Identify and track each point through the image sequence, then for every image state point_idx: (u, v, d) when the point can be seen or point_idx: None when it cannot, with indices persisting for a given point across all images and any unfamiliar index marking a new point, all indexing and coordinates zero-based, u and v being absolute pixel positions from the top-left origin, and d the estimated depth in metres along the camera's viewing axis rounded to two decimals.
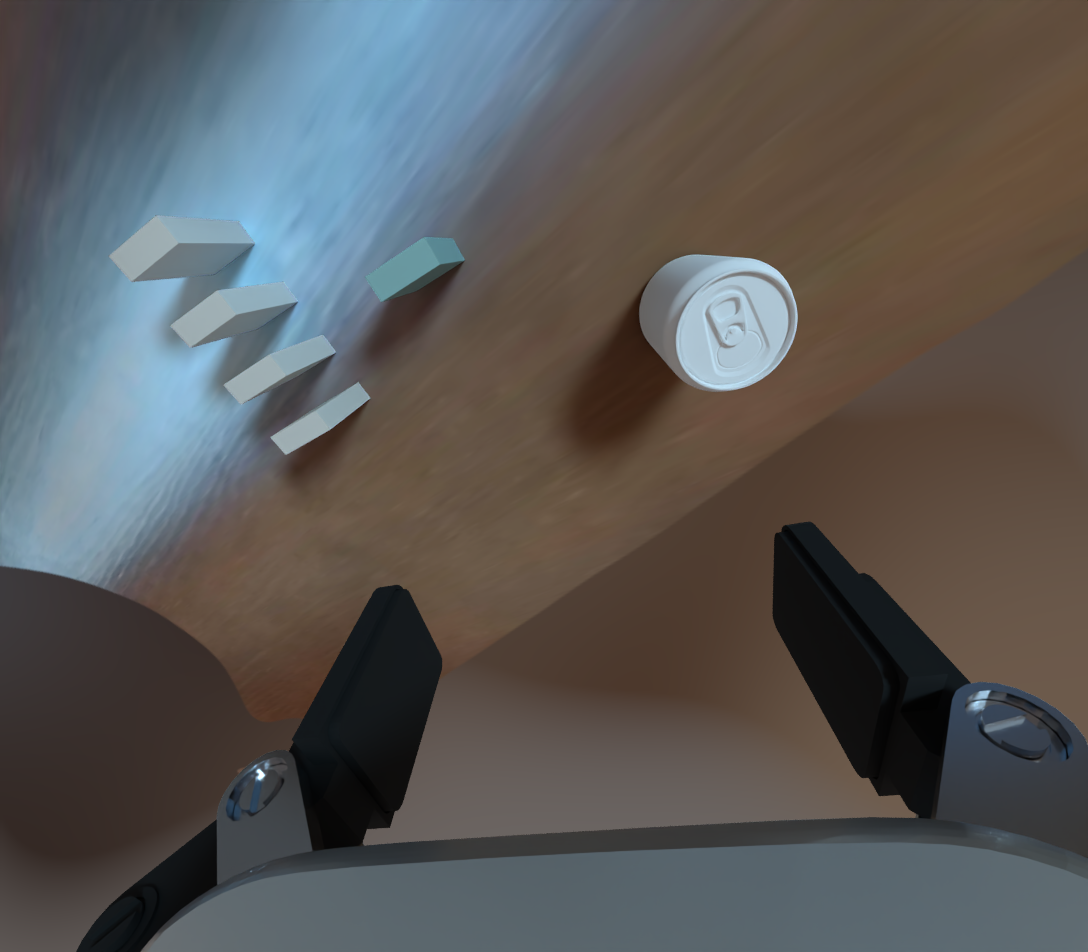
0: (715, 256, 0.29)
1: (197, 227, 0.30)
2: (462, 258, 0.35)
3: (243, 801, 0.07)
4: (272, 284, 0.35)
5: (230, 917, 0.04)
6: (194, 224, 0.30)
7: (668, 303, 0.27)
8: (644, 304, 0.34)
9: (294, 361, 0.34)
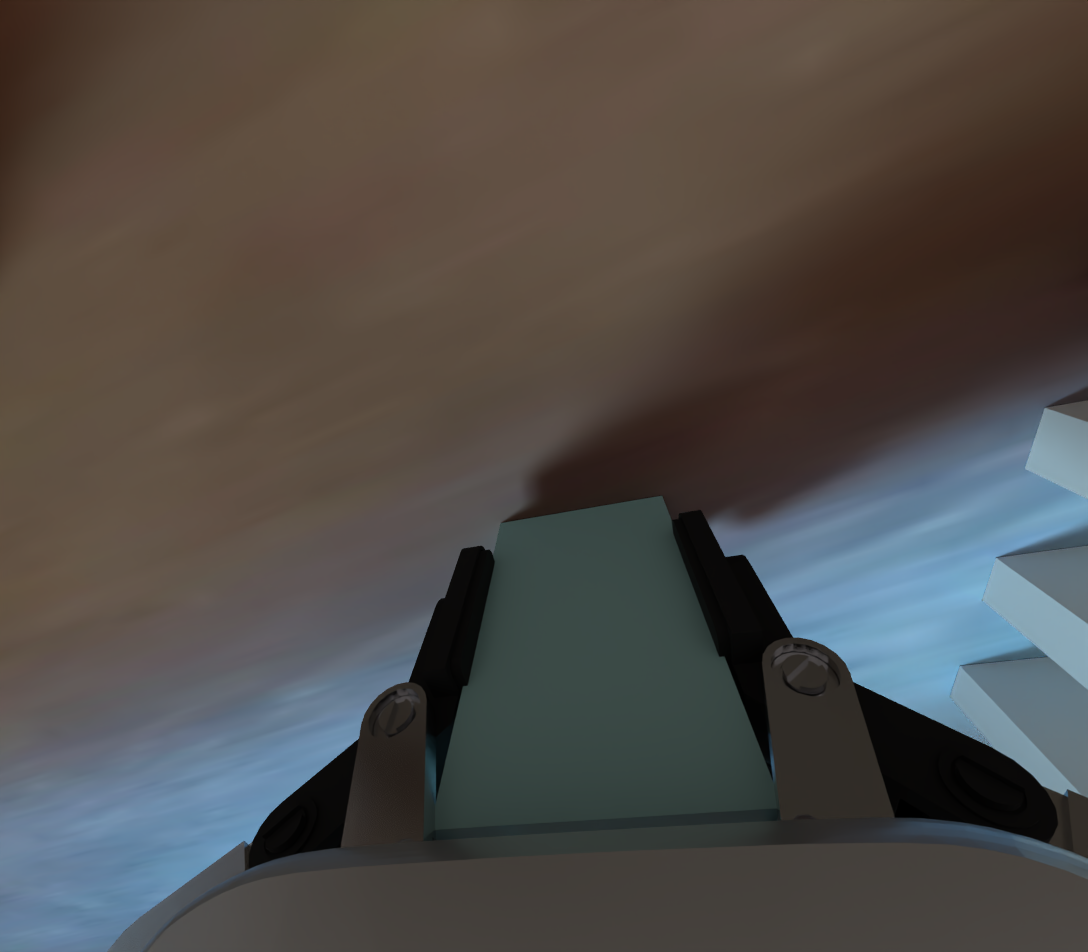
0: None
1: None
2: None
3: (382, 719, 0.08)
4: (1033, 639, 0.12)
5: (230, 917, 0.04)
6: None
7: None
8: None
9: None
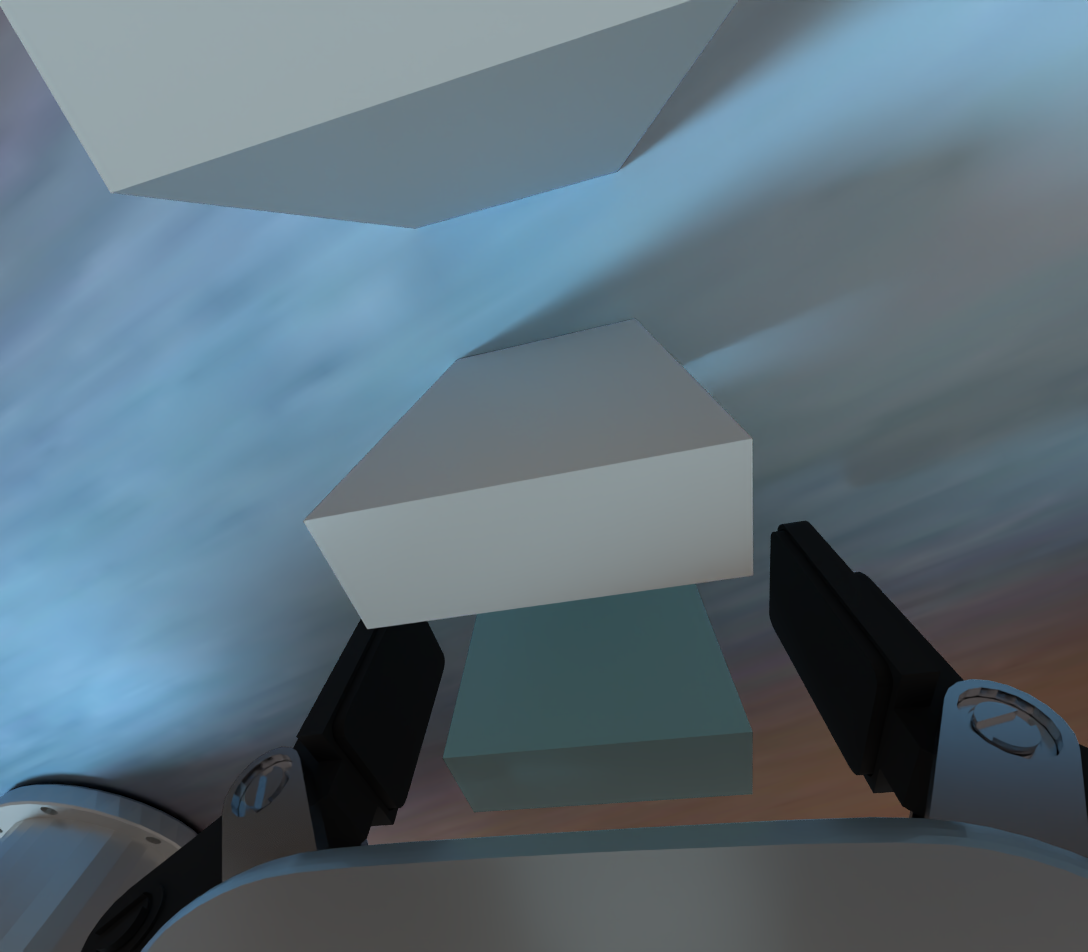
0: None
1: None
2: None
3: (248, 797, 0.07)
4: None
5: (229, 917, 0.04)
6: None
7: None
8: None
9: None
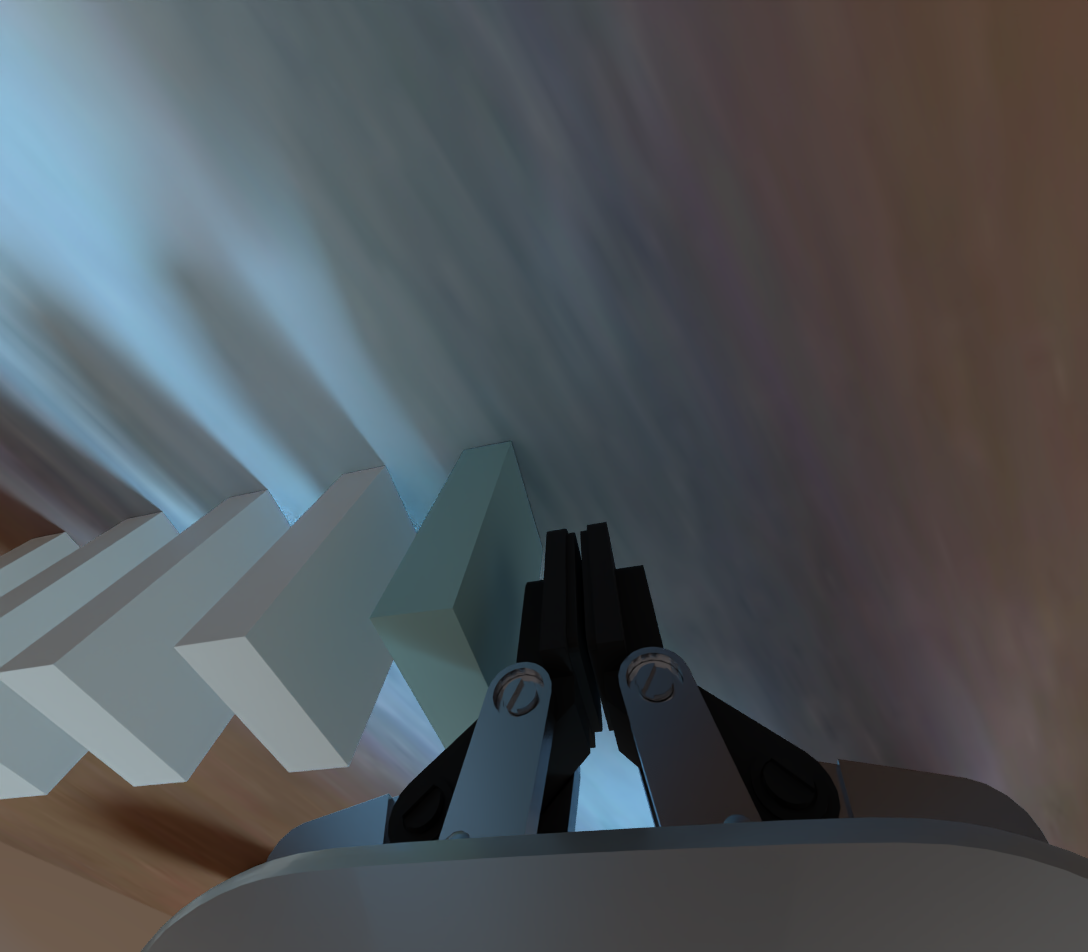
0: None
1: None
2: None
3: (506, 692, 0.08)
4: None
5: (230, 918, 0.04)
6: None
7: None
8: None
9: None
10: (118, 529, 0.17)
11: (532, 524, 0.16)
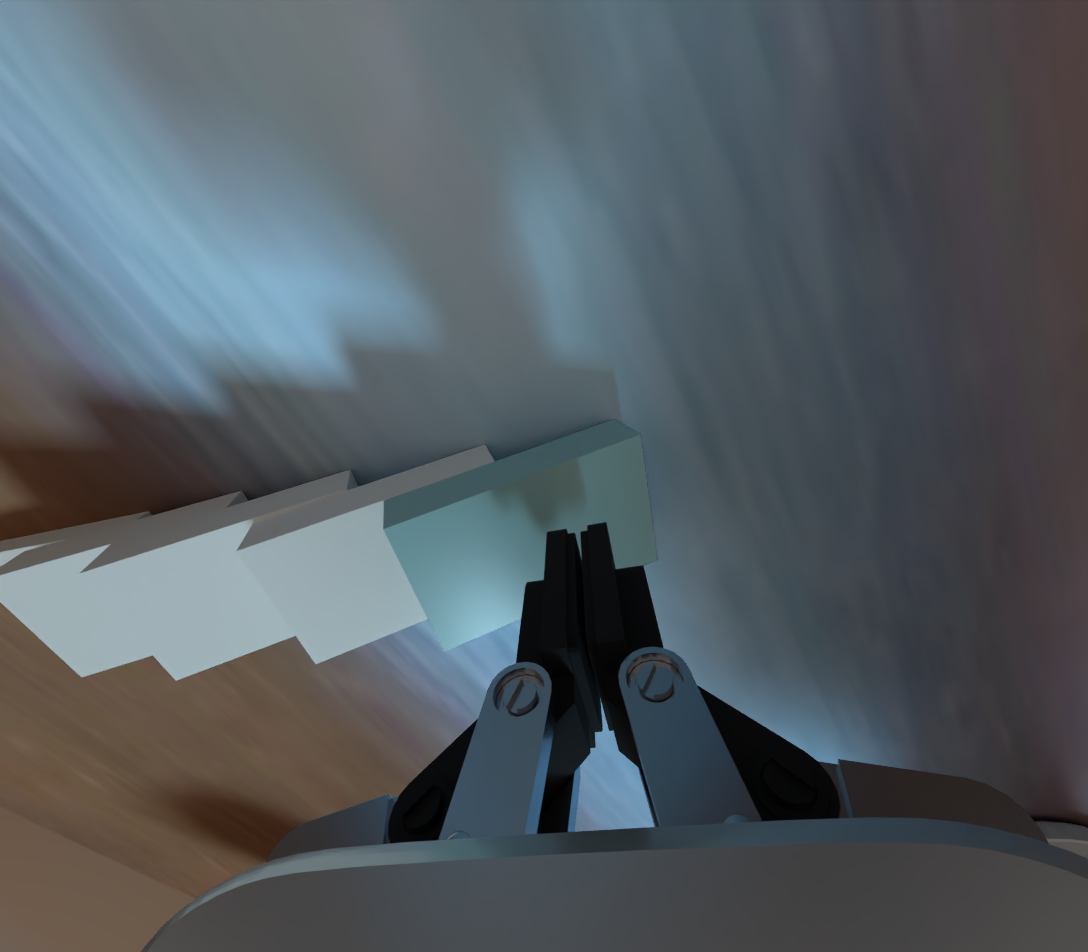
0: None
1: None
2: None
3: (506, 693, 0.08)
4: None
5: (230, 917, 0.04)
6: None
7: None
8: None
9: None
10: (209, 505, 0.16)
11: (640, 527, 0.15)
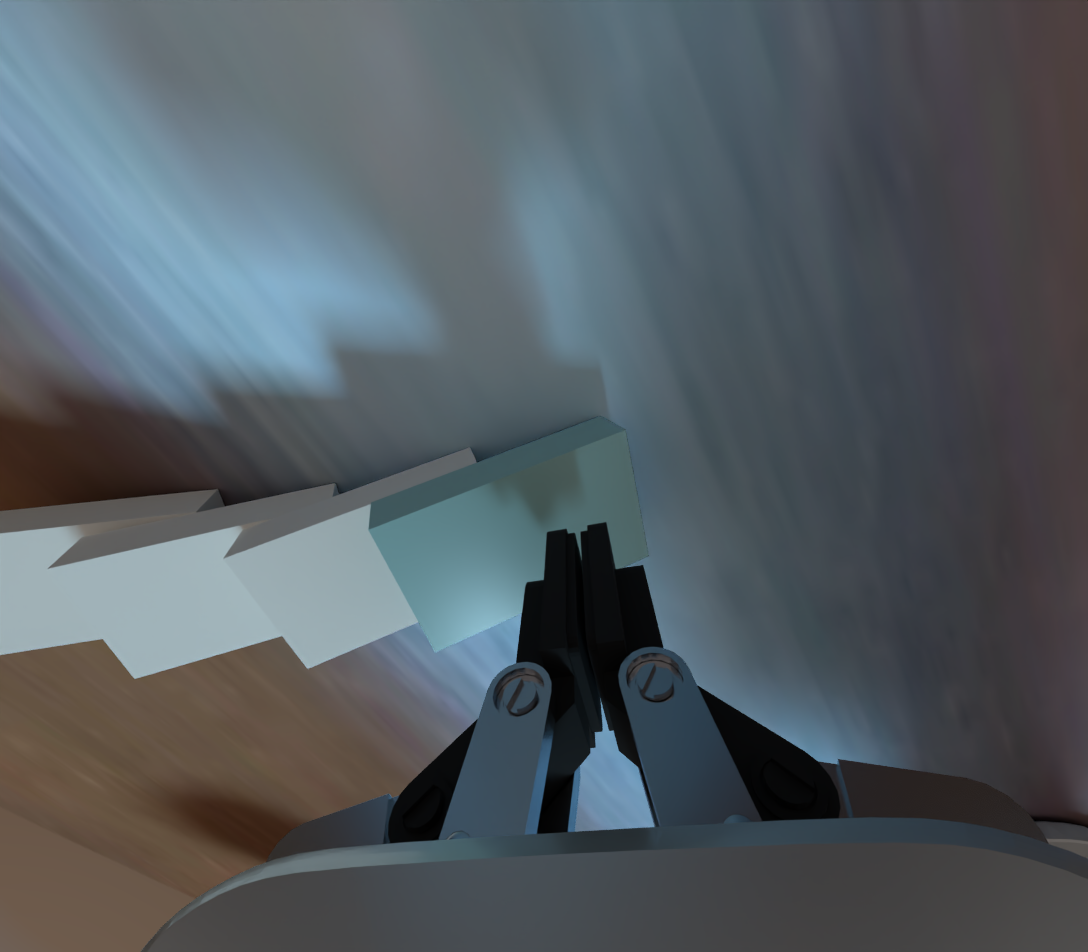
0: None
1: None
2: None
3: (506, 693, 0.08)
4: None
5: (230, 917, 0.04)
6: None
7: None
8: None
9: None
10: (182, 499, 0.16)
11: (630, 524, 0.15)
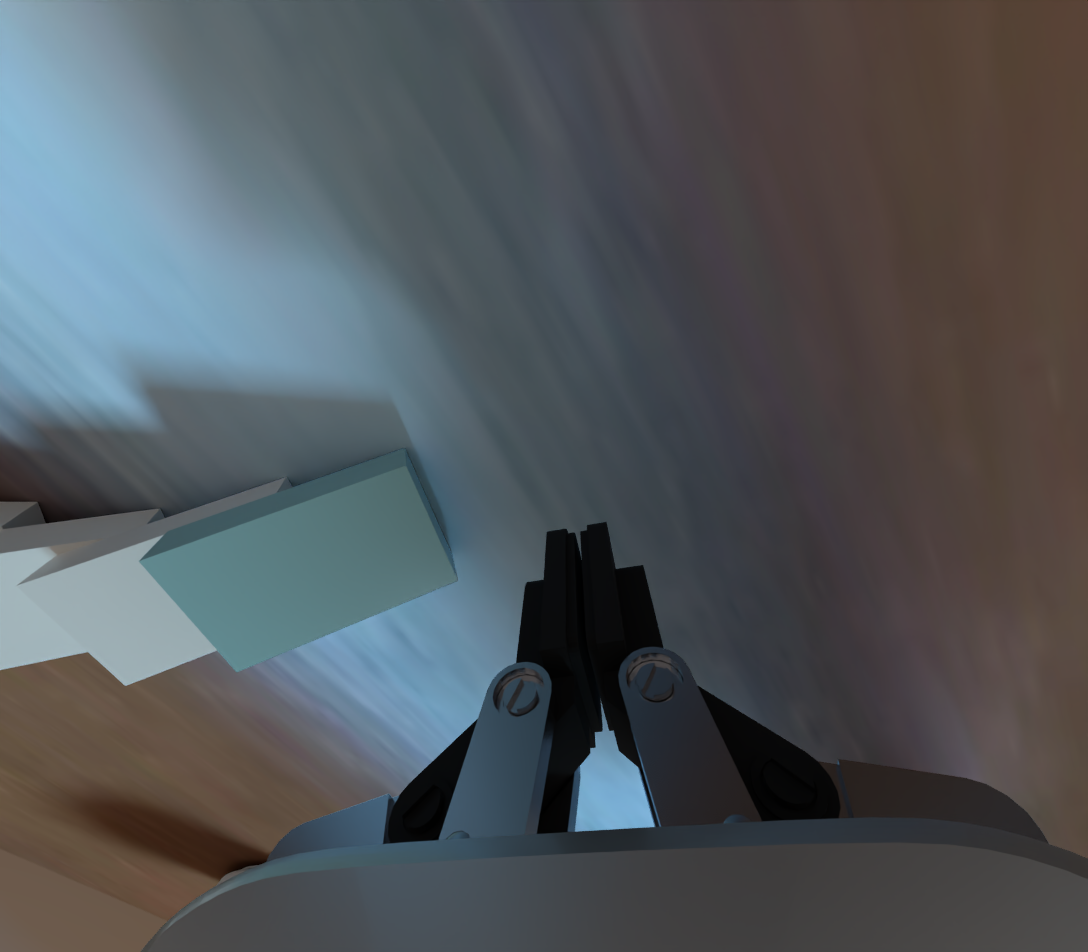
0: None
1: None
2: None
3: (506, 693, 0.08)
4: None
5: (230, 917, 0.04)
6: None
7: None
8: None
9: None
10: None
11: (430, 551, 0.15)
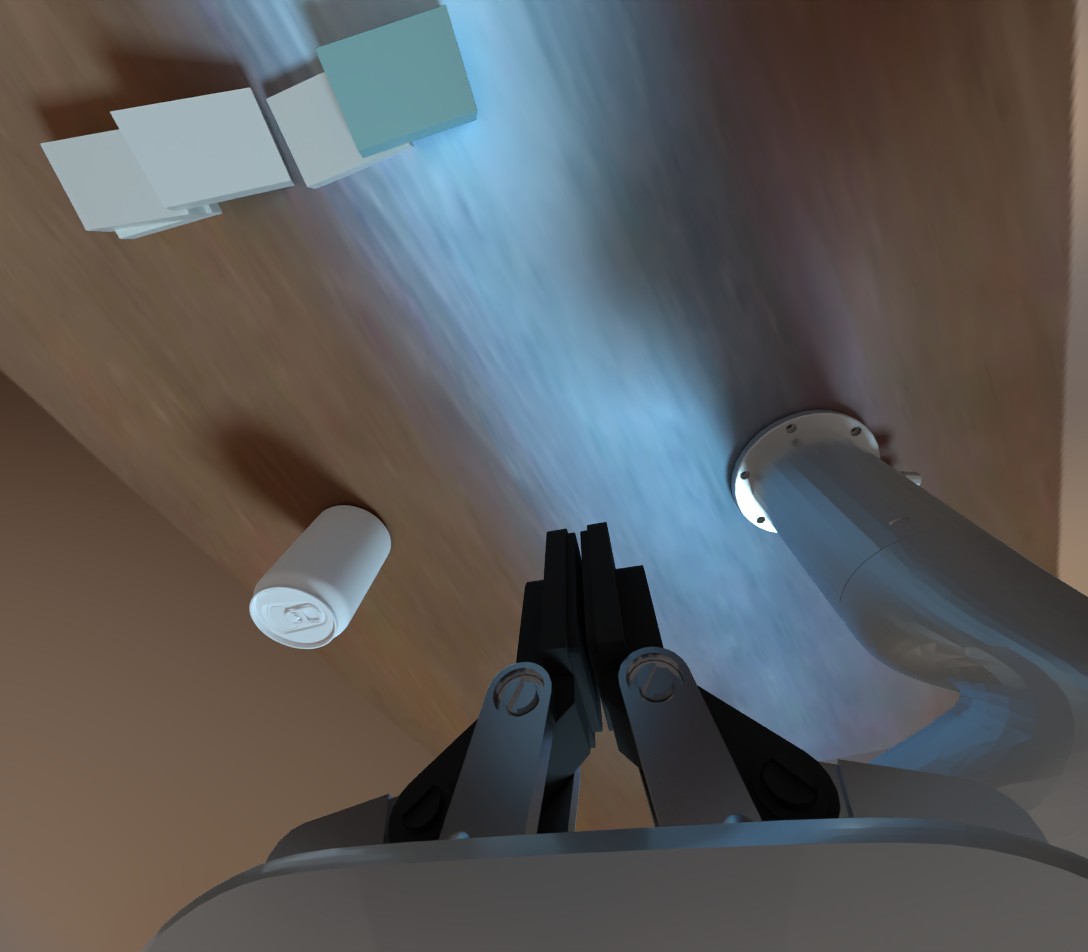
0: (368, 582, 0.40)
1: (346, 173, 0.30)
2: (469, 121, 0.29)
3: (506, 693, 0.08)
4: (265, 186, 0.29)
5: (230, 917, 0.04)
6: (344, 173, 0.30)
7: (324, 573, 0.35)
8: (351, 519, 0.42)
9: (125, 227, 0.31)
10: None
11: (460, 80, 0.26)
